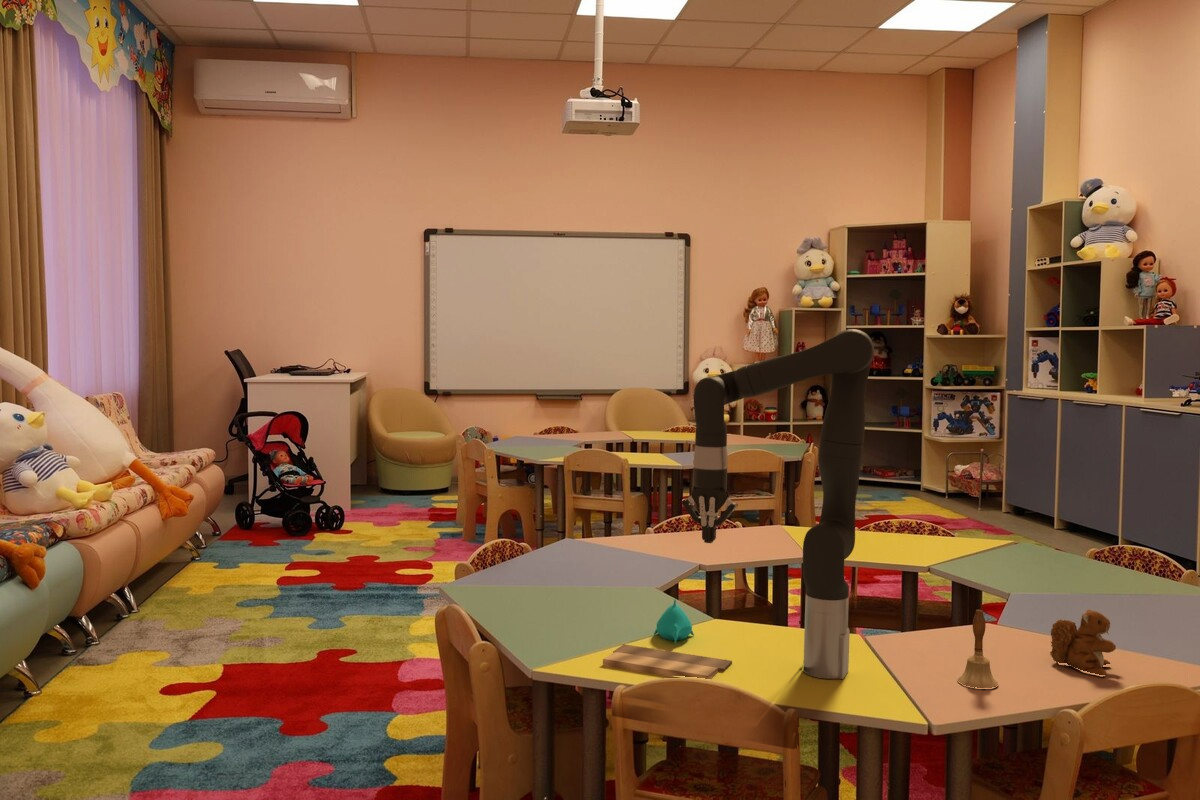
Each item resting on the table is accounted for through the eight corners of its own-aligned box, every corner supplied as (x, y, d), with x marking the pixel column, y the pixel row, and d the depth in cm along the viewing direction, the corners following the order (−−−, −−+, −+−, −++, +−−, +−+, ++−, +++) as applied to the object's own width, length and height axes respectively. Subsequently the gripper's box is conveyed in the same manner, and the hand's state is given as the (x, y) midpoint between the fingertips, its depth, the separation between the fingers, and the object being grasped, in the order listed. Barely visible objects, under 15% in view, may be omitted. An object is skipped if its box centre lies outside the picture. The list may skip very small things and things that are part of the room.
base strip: (731, 668, 225) (732, 660, 225) (723, 677, 219) (723, 668, 219) (623, 651, 236) (623, 644, 235) (613, 659, 230) (613, 651, 230)
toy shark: (692, 632, 252) (693, 589, 251) (696, 655, 234) (697, 609, 233) (653, 631, 252) (653, 588, 252) (654, 654, 234) (655, 608, 234)
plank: (717, 677, 219) (718, 667, 219) (707, 685, 212) (707, 675, 212) (615, 660, 229) (615, 651, 229) (602, 667, 222) (602, 658, 222)
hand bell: (973, 691, 213) (976, 616, 212) (949, 678, 221) (951, 606, 220) (1006, 688, 215) (1010, 614, 214) (981, 675, 223) (984, 604, 222)
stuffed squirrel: (1107, 679, 222) (1110, 620, 221) (1040, 665, 231) (1042, 608, 230) (1119, 668, 229) (1122, 611, 229) (1053, 655, 238) (1055, 599, 238)
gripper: (743, 466, 228) (742, 542, 229) (688, 462, 234) (686, 536, 235) (734, 469, 221) (732, 548, 222) (676, 465, 227) (675, 542, 228)
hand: (708, 542), depth 229 cm, fingers closed
